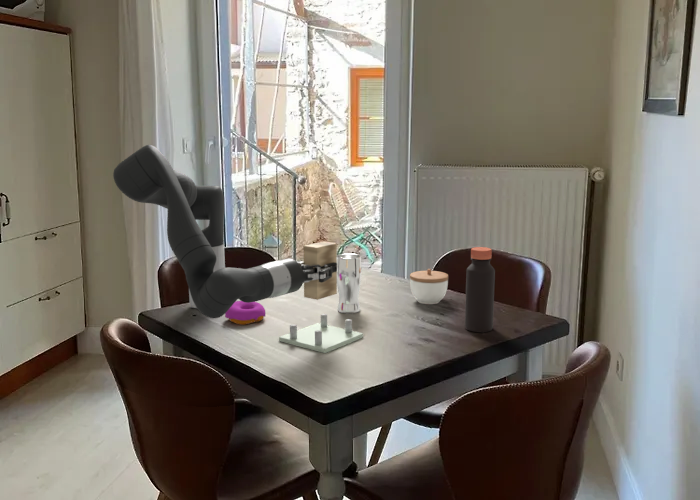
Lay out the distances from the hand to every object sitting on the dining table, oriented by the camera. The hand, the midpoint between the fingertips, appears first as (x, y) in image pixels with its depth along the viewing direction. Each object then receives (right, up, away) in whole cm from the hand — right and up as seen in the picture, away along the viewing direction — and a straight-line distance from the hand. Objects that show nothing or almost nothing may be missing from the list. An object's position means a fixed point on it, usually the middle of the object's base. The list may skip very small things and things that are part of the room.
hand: (327, 265), depth 164 cm
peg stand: (-2, -17, +1) cm, 17 cm away
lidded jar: (+27, -11, +34) cm, 45 cm away
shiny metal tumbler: (+5, -13, +25) cm, 29 cm away
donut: (-22, -15, +17) cm, 31 cm away
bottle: (+37, -16, +9) cm, 41 cm away
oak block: (-2, -7, -1) cm, 7 cm away
